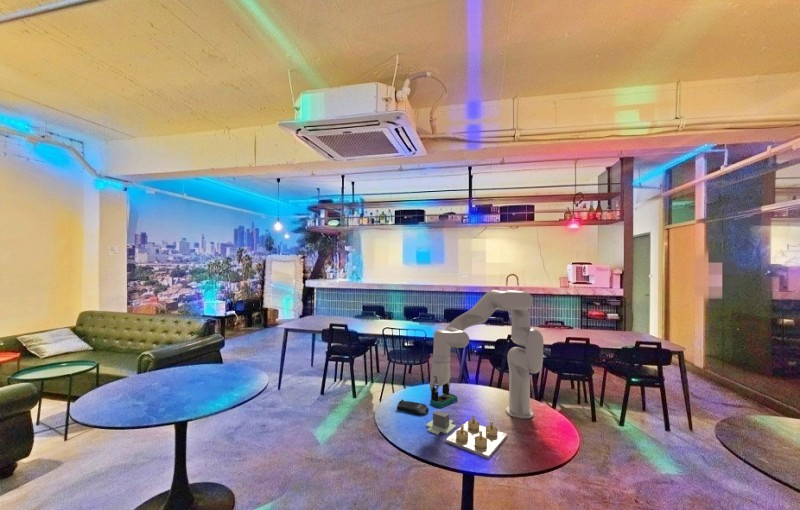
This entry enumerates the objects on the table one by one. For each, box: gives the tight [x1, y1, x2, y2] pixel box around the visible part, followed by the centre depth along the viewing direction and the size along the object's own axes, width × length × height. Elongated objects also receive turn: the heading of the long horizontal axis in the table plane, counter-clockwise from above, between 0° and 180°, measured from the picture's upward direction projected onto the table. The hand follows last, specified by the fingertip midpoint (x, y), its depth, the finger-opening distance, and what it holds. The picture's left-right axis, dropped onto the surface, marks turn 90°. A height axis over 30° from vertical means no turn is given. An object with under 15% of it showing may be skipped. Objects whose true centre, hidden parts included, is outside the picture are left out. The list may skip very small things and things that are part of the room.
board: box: [425, 409, 457, 436], centre depth 145 cm, size 14×11×6 cm
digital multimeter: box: [429, 392, 459, 409], centre depth 171 cm, size 7×15×3 cm, turn 133°
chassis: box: [445, 414, 508, 459], centre depth 135 cm, size 20×18×7 cm
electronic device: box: [396, 399, 430, 416], centre depth 162 cm, size 9×6×15 cm
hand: (440, 397), depth 145 cm, fingers open, 9 cm apart
